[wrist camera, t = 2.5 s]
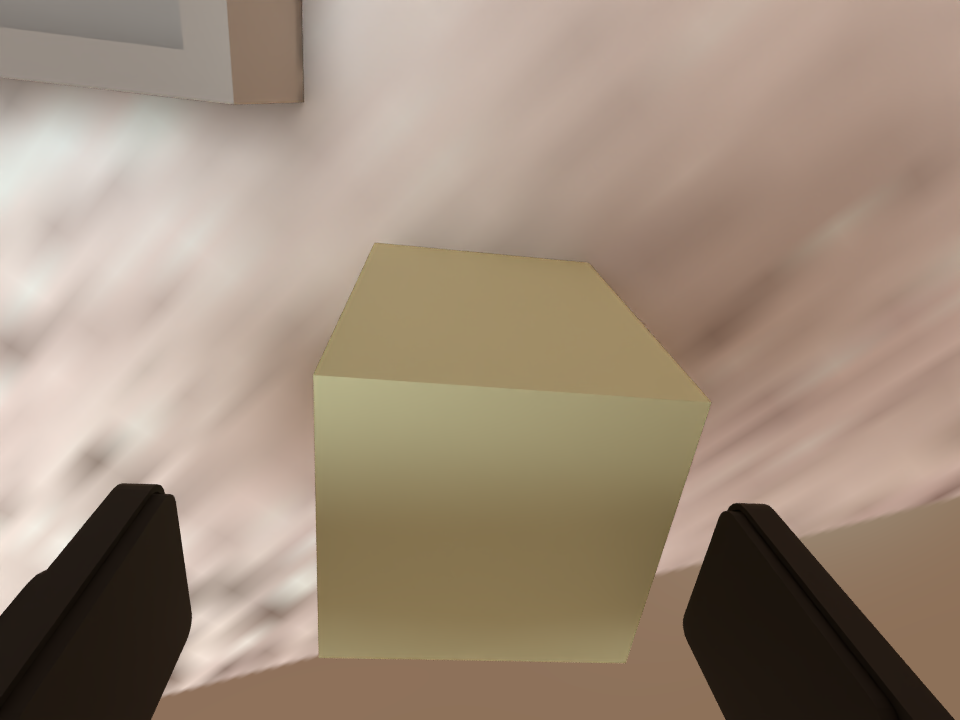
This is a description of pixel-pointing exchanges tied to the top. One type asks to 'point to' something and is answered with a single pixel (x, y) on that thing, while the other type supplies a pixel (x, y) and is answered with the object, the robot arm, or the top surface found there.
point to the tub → (159, 47)
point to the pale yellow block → (493, 461)
